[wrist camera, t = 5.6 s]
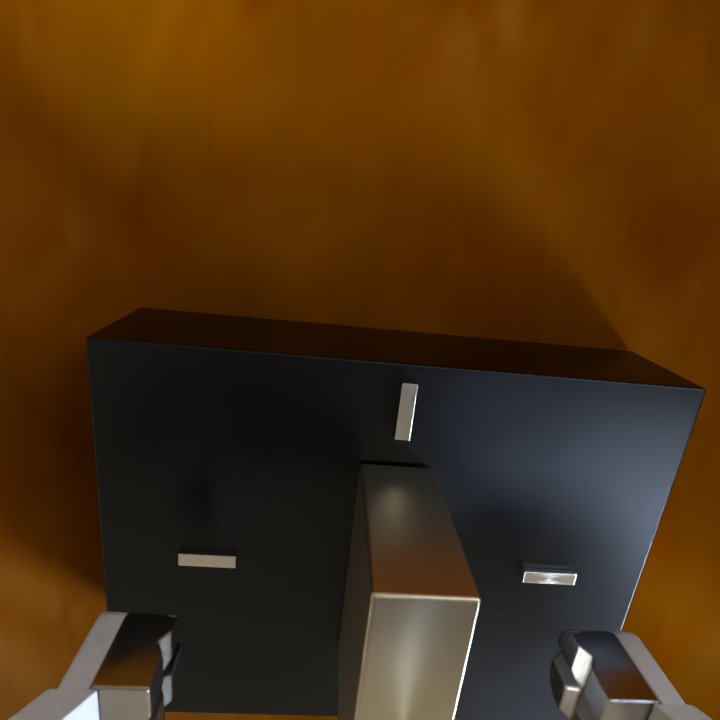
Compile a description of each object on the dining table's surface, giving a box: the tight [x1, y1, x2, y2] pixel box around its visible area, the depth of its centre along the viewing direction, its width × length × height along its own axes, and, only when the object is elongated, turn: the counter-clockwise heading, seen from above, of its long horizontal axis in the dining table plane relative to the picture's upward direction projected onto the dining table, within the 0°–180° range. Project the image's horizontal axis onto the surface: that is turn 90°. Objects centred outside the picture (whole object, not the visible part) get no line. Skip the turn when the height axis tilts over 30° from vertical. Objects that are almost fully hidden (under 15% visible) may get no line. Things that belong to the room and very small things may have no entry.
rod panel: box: [86, 308, 706, 720], centre depth 14 cm, size 14×11×3 cm
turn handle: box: [338, 464, 481, 720], centre depth 10 cm, size 6×2×4 cm, turn 174°
